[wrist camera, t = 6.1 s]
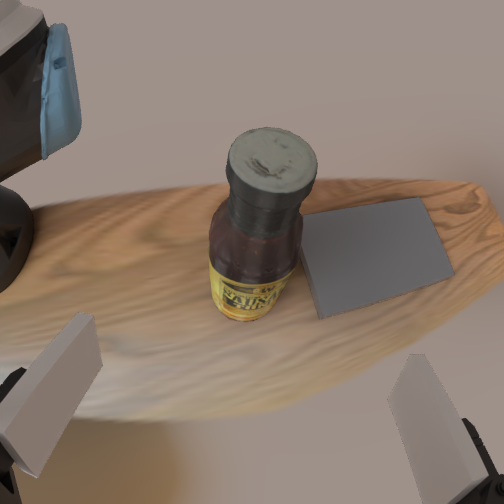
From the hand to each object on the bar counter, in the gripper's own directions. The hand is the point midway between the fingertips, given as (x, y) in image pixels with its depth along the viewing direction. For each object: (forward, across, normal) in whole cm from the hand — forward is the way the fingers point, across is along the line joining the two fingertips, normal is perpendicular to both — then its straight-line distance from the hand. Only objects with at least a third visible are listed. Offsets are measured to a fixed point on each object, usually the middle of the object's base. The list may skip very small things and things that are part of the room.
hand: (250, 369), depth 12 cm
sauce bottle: (+18, -1, -7) cm, 20 cm away
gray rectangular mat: (+23, +14, -2) cm, 27 cm away
